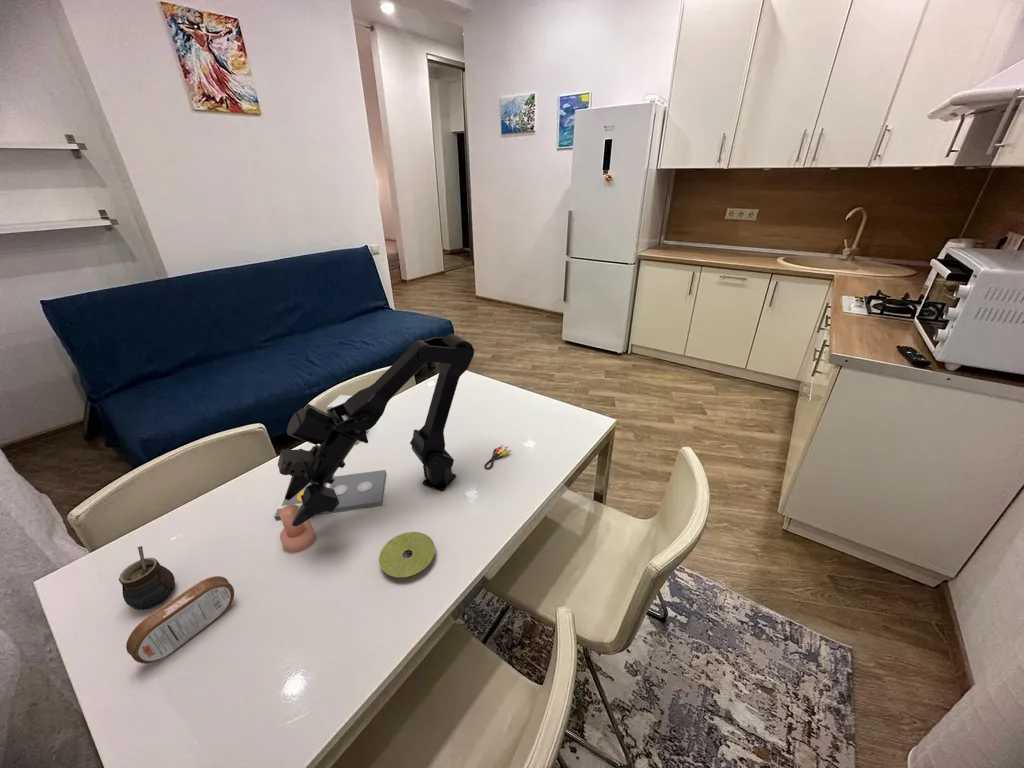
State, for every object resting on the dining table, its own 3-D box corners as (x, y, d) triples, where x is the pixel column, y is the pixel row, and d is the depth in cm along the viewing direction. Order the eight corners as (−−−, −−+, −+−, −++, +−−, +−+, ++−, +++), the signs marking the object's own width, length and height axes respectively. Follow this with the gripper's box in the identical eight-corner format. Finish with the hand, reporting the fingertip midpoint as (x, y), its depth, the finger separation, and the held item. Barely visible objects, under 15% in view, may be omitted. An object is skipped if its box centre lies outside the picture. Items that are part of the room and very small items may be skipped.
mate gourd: (130, 624, 73) (102, 587, 69) (134, 593, 79) (109, 557, 74) (179, 601, 77) (156, 565, 72) (179, 574, 82) (158, 538, 78)
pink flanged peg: (322, 535, 90) (311, 504, 86) (297, 557, 85) (285, 526, 81) (301, 526, 93) (291, 496, 89) (277, 546, 88) (264, 516, 84)
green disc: (372, 555, 85) (370, 549, 84) (421, 529, 91) (420, 523, 90) (393, 594, 77) (392, 587, 76) (445, 563, 83) (444, 556, 82)
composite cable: (489, 472, 109) (488, 465, 108) (476, 465, 111) (475, 458, 110) (512, 454, 115) (512, 447, 114) (499, 448, 118) (499, 441, 117)
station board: (386, 473, 109) (384, 465, 107) (381, 505, 98) (379, 496, 97) (290, 486, 105) (287, 477, 104) (275, 520, 94) (272, 511, 93)
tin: (234, 594, 78) (219, 565, 74) (243, 603, 76) (227, 573, 72) (139, 666, 67) (114, 635, 63) (146, 677, 65) (122, 646, 61)
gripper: (289, 417, 87) (246, 477, 87) (306, 461, 73) (255, 533, 73) (335, 435, 95) (296, 490, 94) (358, 478, 81) (313, 543, 80)
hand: (290, 511), depth 85 cm, fingers open, 9 cm apart
